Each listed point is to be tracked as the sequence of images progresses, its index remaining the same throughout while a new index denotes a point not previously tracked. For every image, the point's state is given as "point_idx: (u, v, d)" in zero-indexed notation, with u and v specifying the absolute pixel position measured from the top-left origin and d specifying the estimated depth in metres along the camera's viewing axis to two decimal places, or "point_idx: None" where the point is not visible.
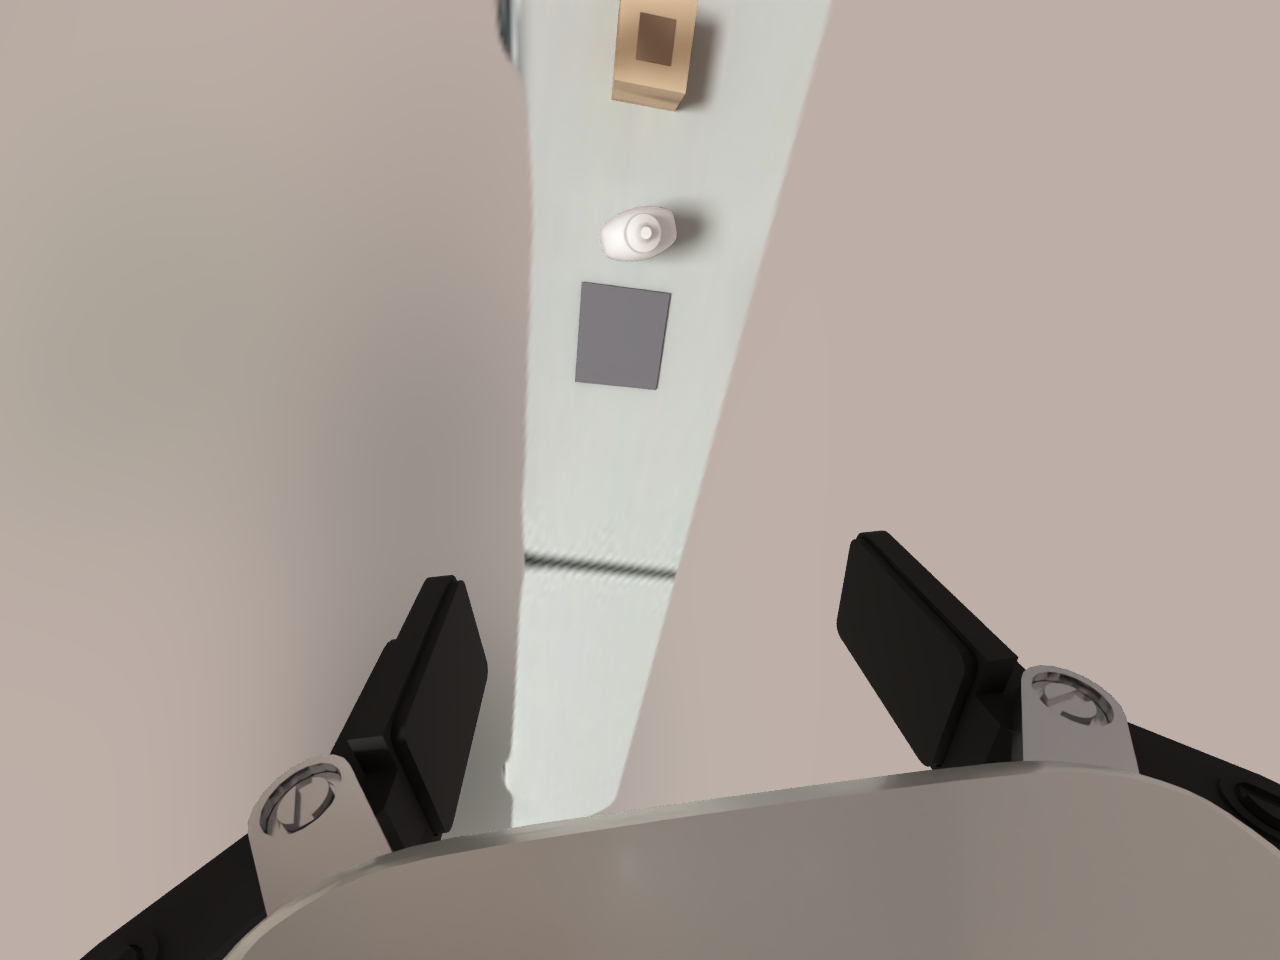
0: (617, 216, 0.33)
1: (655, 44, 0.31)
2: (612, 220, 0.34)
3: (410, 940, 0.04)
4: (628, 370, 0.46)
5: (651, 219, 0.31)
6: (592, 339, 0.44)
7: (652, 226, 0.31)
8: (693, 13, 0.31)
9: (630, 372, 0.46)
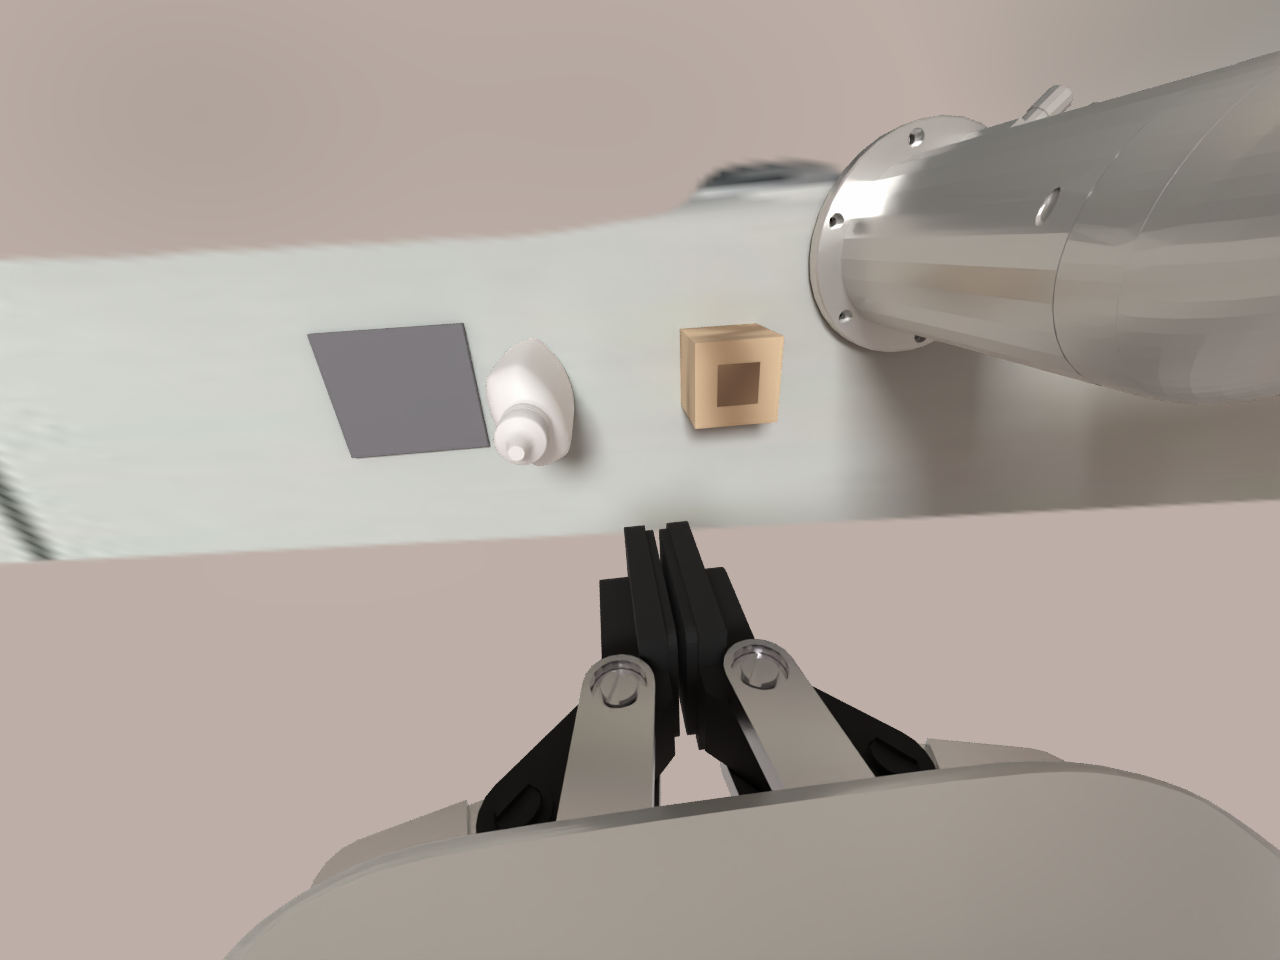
0: (541, 385, 0.23)
1: (733, 386, 0.27)
2: (534, 379, 0.23)
3: (410, 940, 0.04)
4: (362, 413, 0.30)
5: (540, 448, 0.21)
6: (386, 352, 0.29)
7: (532, 453, 0.21)
8: (764, 419, 0.28)
9: (361, 417, 0.30)
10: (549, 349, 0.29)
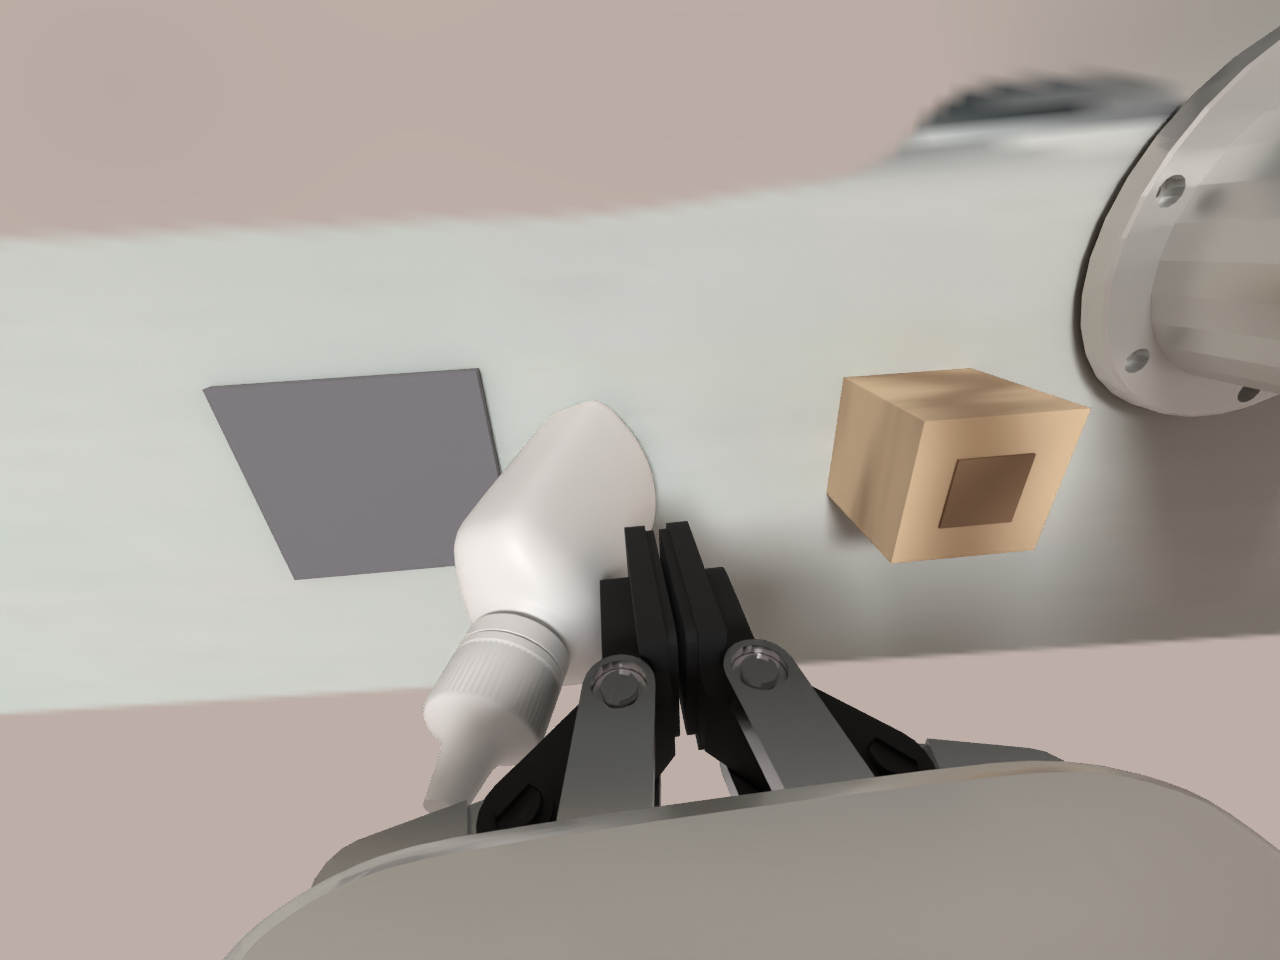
0: (561, 564, 0.11)
1: (977, 494, 0.15)
2: (546, 553, 0.10)
3: (410, 940, 0.04)
4: (307, 515, 0.18)
5: (523, 755, 0.09)
6: (344, 418, 0.16)
7: (501, 763, 0.09)
8: (1013, 547, 0.16)
9: (306, 520, 0.18)
10: (620, 421, 0.17)
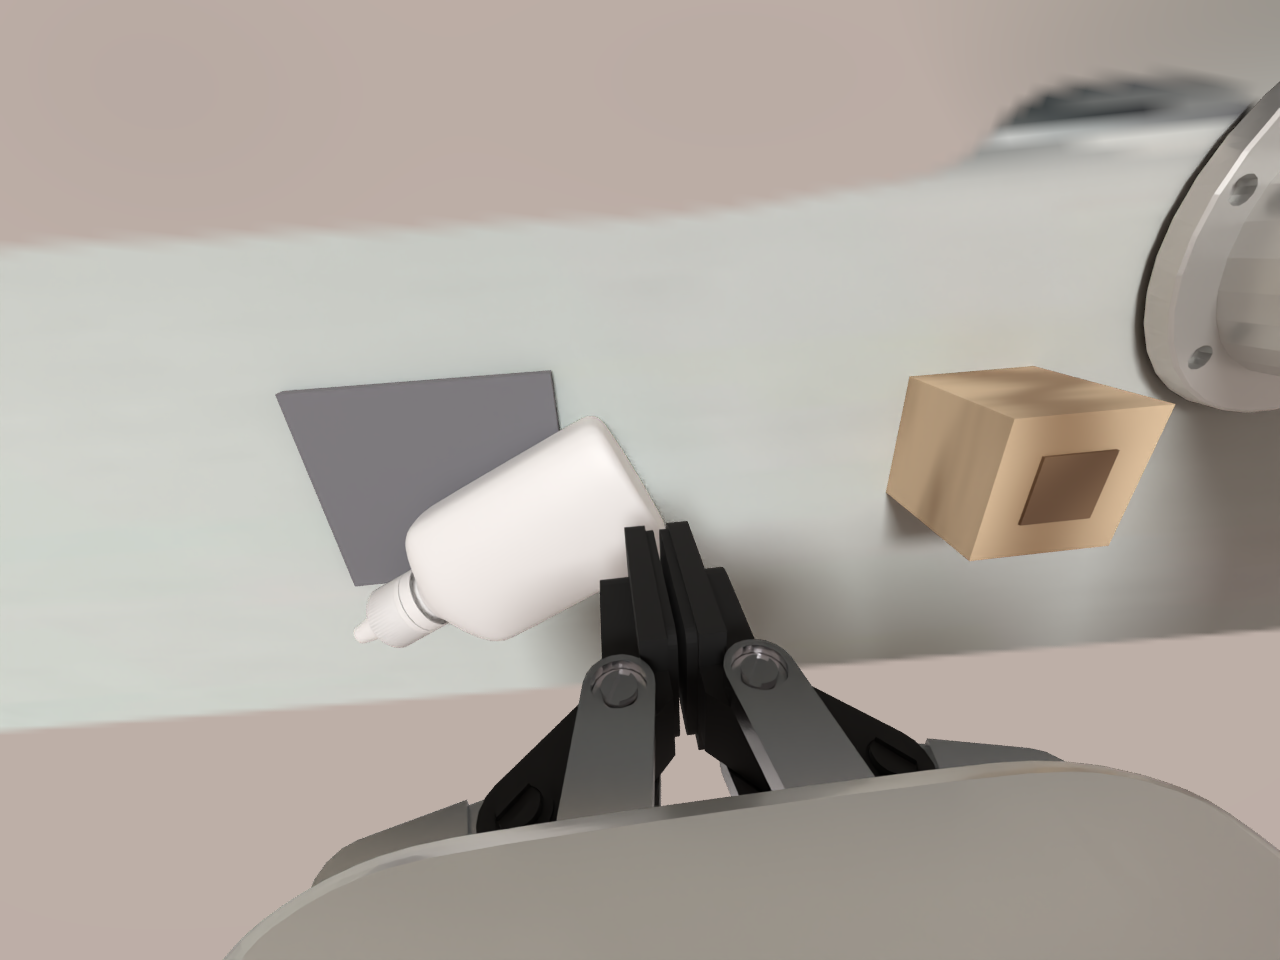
0: (422, 575, 0.16)
1: (1059, 491, 0.15)
2: (415, 564, 0.16)
3: (410, 940, 0.04)
4: (372, 520, 0.18)
5: None
6: (415, 422, 0.16)
7: None
8: (1089, 543, 0.16)
9: (370, 525, 0.18)
10: (605, 460, 0.15)
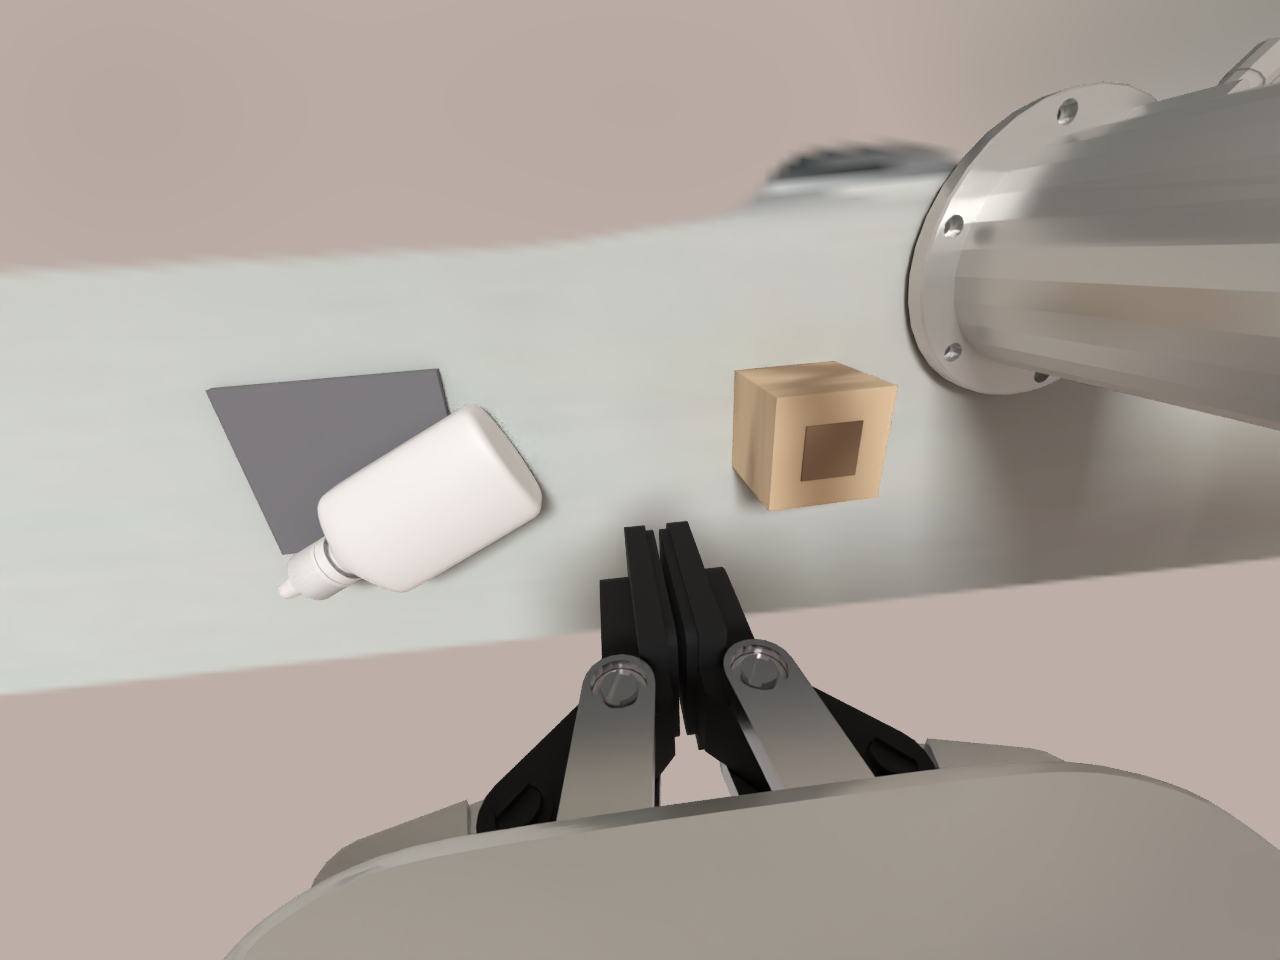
0: (331, 535, 0.19)
1: (825, 453, 0.19)
2: (325, 526, 0.19)
3: (410, 940, 0.04)
4: (294, 496, 0.21)
5: None
6: (326, 412, 0.20)
7: None
8: (861, 495, 0.21)
9: (293, 500, 0.21)
10: (474, 437, 0.19)
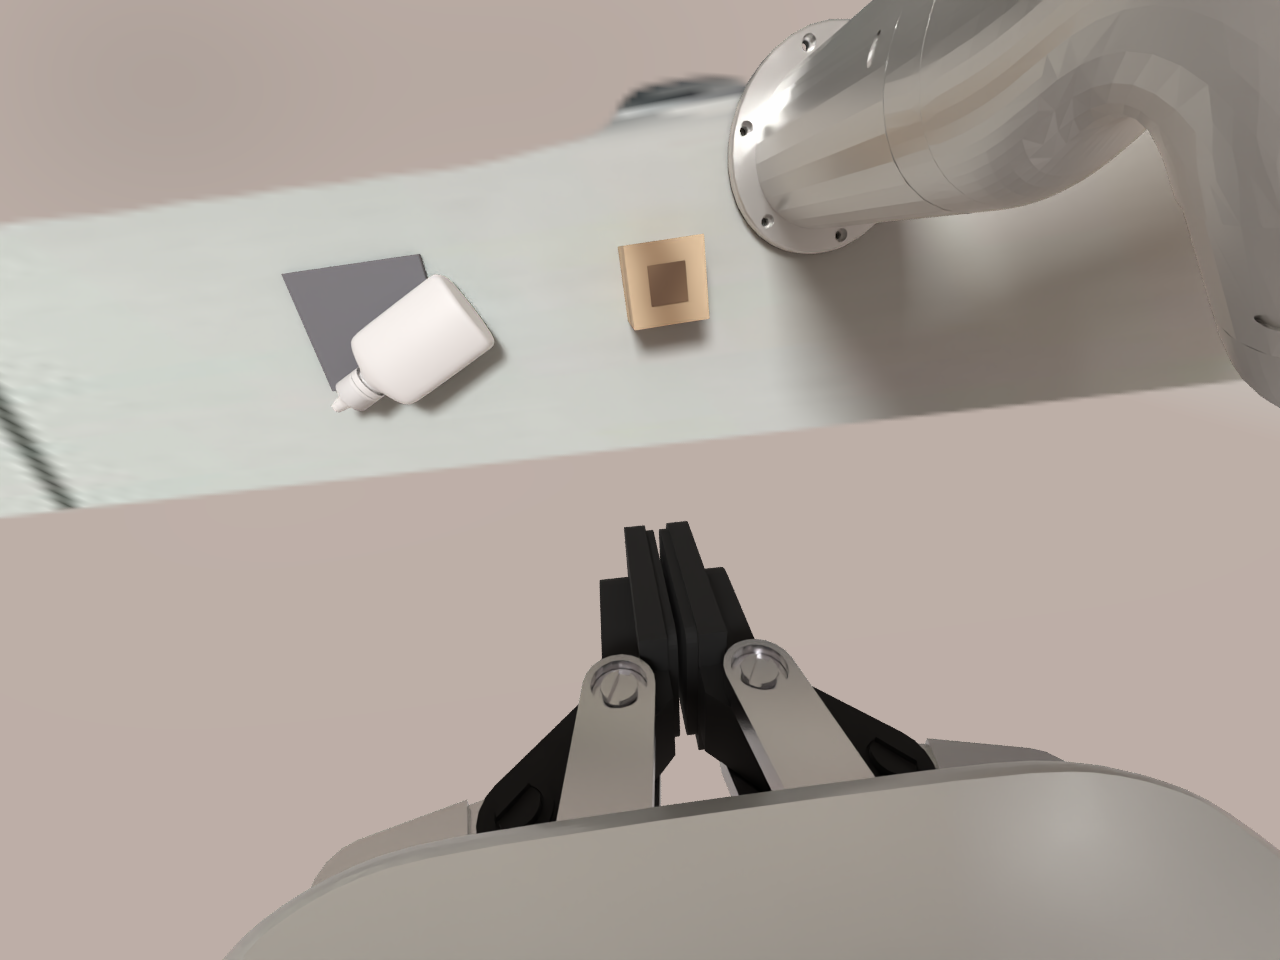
0: (360, 358, 0.31)
1: (664, 285, 0.30)
2: (356, 353, 0.31)
3: (410, 939, 0.04)
4: (337, 347, 0.33)
5: (351, 407, 0.33)
6: (353, 286, 0.32)
7: None
8: (697, 317, 0.31)
9: (337, 350, 0.33)
10: (441, 289, 0.30)
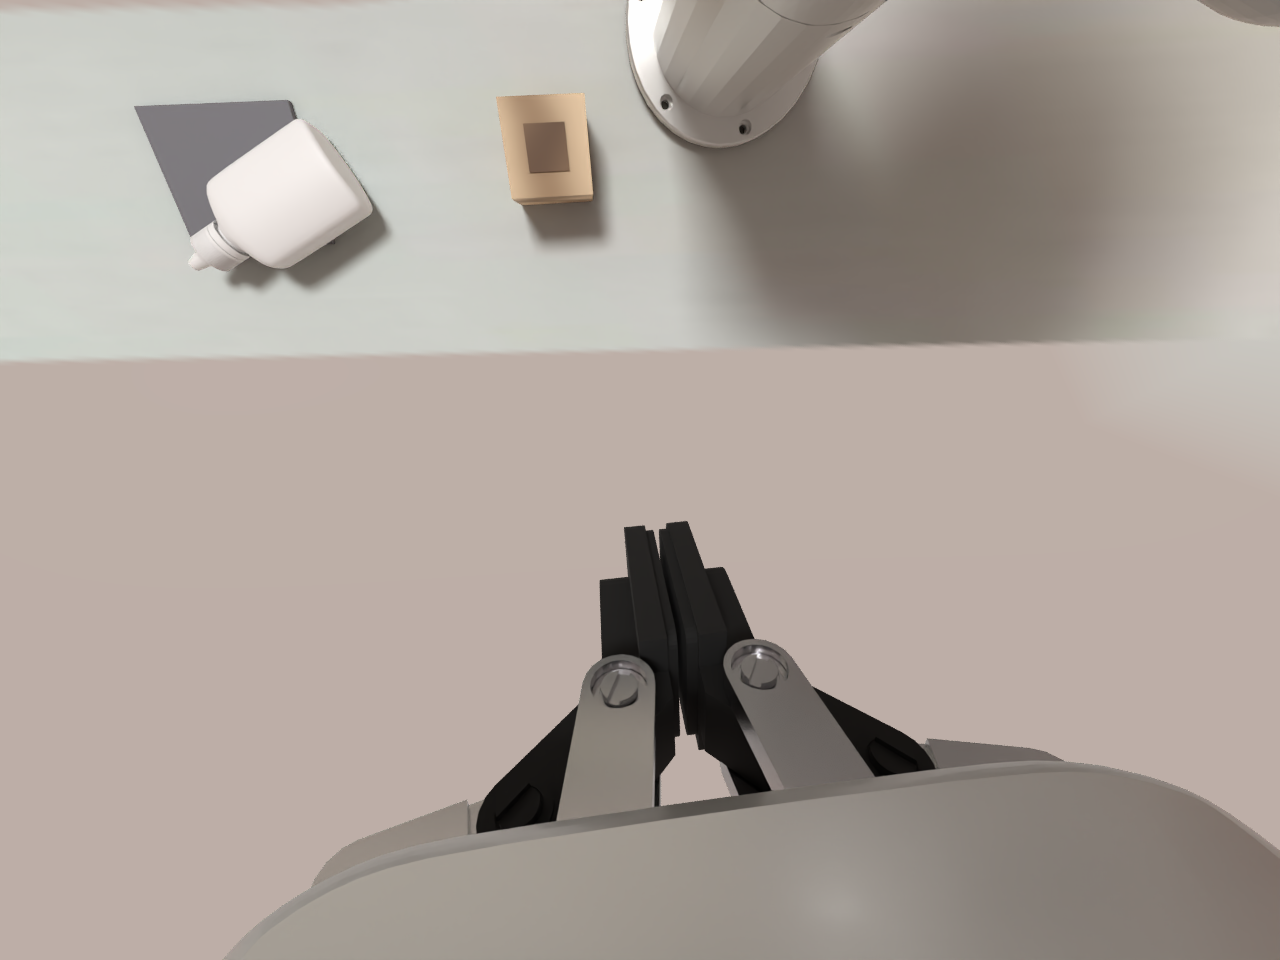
0: (214, 205, 0.29)
1: (542, 148, 0.28)
2: (210, 199, 0.29)
3: (410, 940, 0.04)
4: (200, 200, 0.31)
5: (209, 263, 0.30)
6: (215, 129, 0.30)
7: None
8: (580, 191, 0.29)
9: (200, 204, 0.31)
10: (304, 133, 0.28)
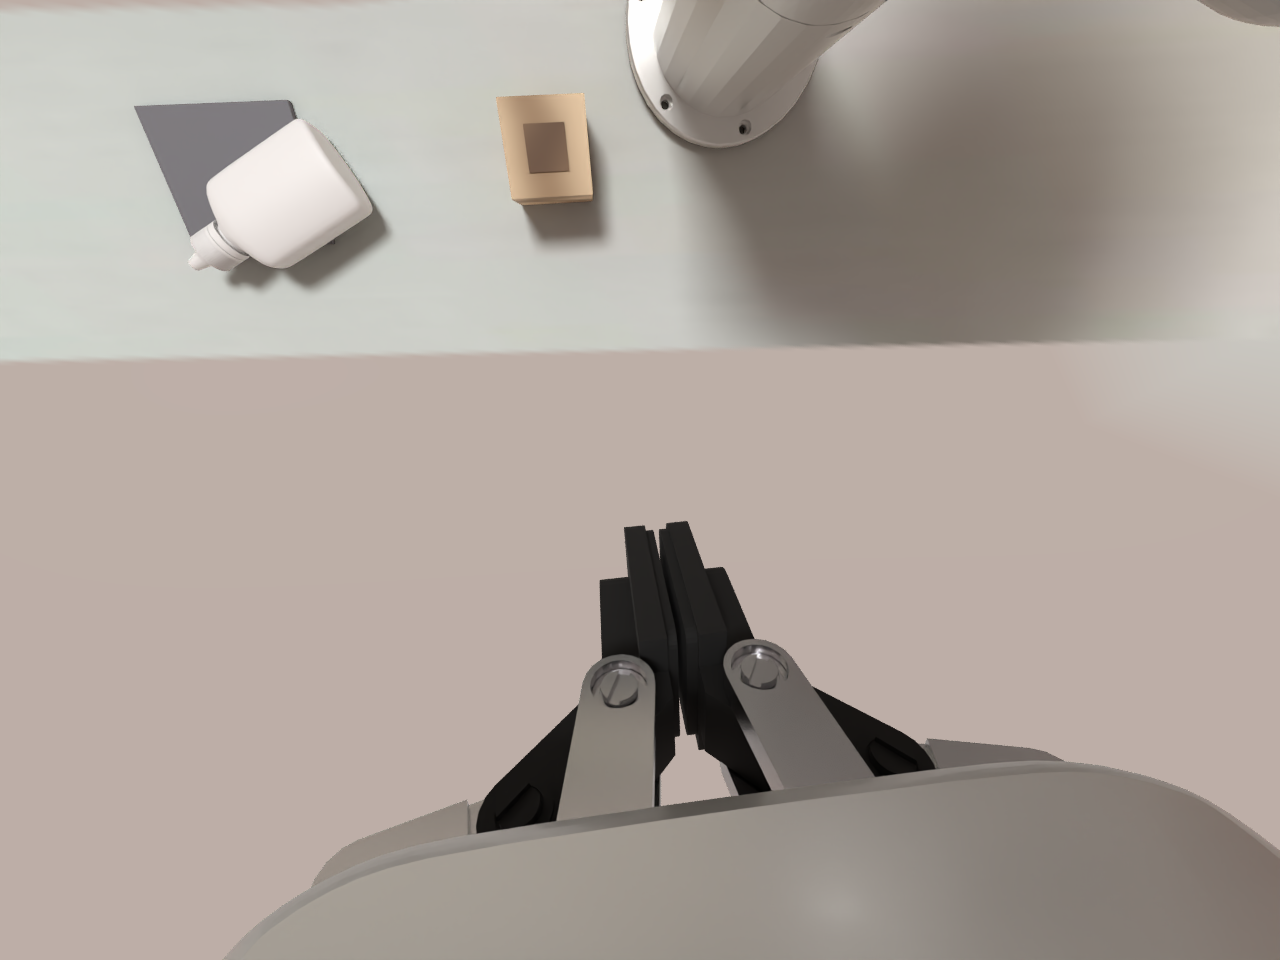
0: (214, 205, 0.29)
1: (541, 149, 0.28)
2: (210, 199, 0.29)
3: (409, 940, 0.04)
4: (200, 200, 0.31)
5: (209, 263, 0.30)
6: (215, 129, 0.30)
7: None
8: (580, 191, 0.29)
9: (200, 204, 0.31)
10: (304, 133, 0.28)
